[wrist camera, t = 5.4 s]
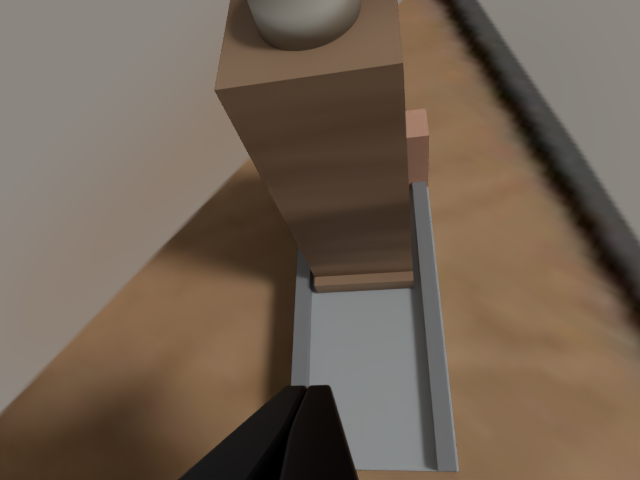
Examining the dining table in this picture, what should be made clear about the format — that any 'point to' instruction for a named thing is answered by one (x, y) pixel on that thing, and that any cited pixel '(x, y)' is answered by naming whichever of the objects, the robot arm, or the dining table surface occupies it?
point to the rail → (384, 348)
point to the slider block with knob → (326, 130)
